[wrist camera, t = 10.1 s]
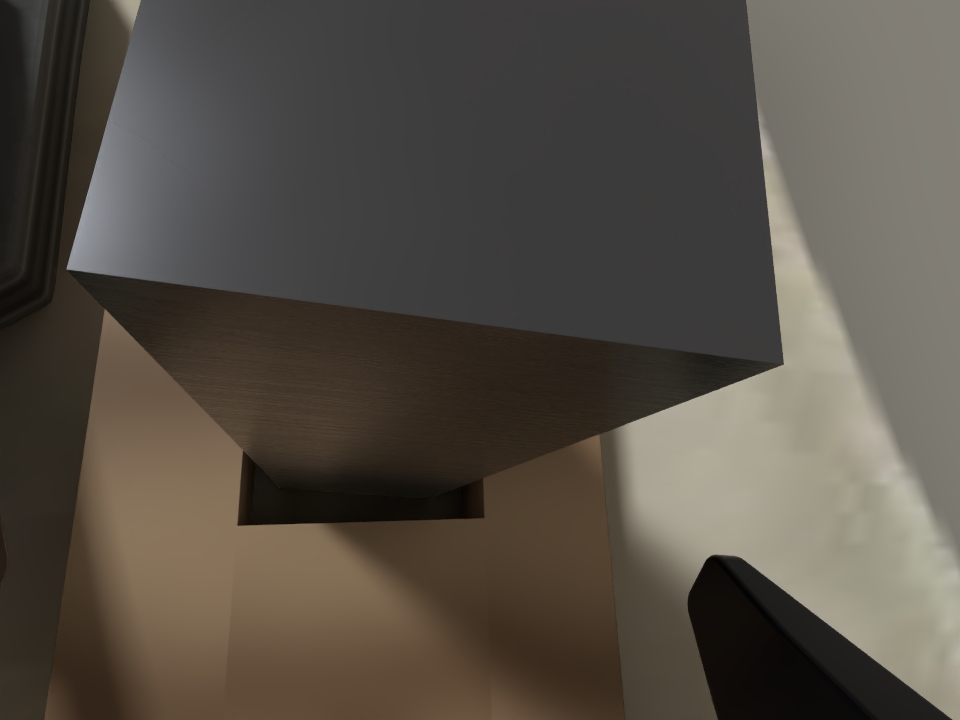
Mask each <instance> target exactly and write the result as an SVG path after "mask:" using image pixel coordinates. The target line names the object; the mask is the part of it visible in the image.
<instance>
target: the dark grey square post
mask: <svg viewBox="0 0 960 720" xmlns="http://www.w3.org/2000/svg"><path fill="white" fill-rule="evenodd" d="M66 270H67V271H68V272H69V273H70V274H71V275H72V276H73V277H74V278H75V279H76V280H77V281H78V282H79V283H80V284H81V285H82V286H83V287H84V288H85V289H86V290H87V291H88V292H89V293H90V294H91V295H92V296H93V297H94V298H95V299H96V300H97V301H98V302H99V303H100V304H101V305H102V306H103V307H104V308H105V309H106V310H107V312H108V313H109V314H110V315H111V316H112V317H113V318H114V319H115V320H116V321H117V322H118V323H119V324H120V325H121V326H122V327H123V328H124V329H125V330H126V331H127V332H128V333H129V334H130V335H131V336H132V337H133V338H134V339H135V340H136V341H137V342H138V343H139V344H140V345H141V346H142V347H143V348H144V349H145V350H146V351H147V352H148V353H149V354H150V356H151V357H152V358H153V359H154V360H155V361H156V362H157V363H158V364H159V365H160V366H161V367H162V368H163V369H164V370H165V371H166V372H167V373H168V374H169V375H170V376H171V377H172V378H173V379H174V380H175V381H176V382H177V383H178V384H179V385H180V386H181V387H182V388H183V389H184V390H185V391H186V392H187V393H188V394H189V395H190V396H191V397H192V398H193V400H194V401H195V402H196V403H197V404H198V405H199V406H200V407H201V408H202V409H203V410H204V411H205V412H206V413H207V414H208V415H209V416H210V417H211V418H212V419H213V420H214V421H215V422H216V423H217V424H218V425H219V426H220V427H221V428H222V429H223V430H224V431H225V432H226V433H227V434H228V435H229V436H230V437H231V438H232V439H233V440H234V441H235V442H236V444H237V445H238V446H239V447H240V448H241V449H242V450H243V451H244V452H245V453H246V454H247V455H248V456H249V457H250V458H251V459H252V460H253V461H254V462H255V463H256V464H257V465H258V466H259V467H260V468H261V469H262V470H263V471H264V472H265V473H266V474H267V475H268V476H269V477H270V478H271V479H272V480H273V481H274V482H275V483H276V484H277V485H278V487H279V488H280V489H295V490H309V491H324V492H339V493H354V494H368V495H383V496H398V497H413V498H428V499H430V498H432V497H435V496H437V495H440V494H443V493H445V492H448V491H451V490H453V489H456V488H459V487H461V486H464V485H467V484H469V483H472V482H474V481H477V480H480V479H482V478H485V477H488V476H490V475H493V474H496V473H498V472H501V471H504V470H506V469H509V468H511V467H514V466H517V465H519V464H522V463H525V462H527V461H530V460H533V459H535V458H538V457H541V456H543V455H546V454H548V453H551V452H554V451H556V450H559V449H562V448H564V447H567V446H570V445H572V444H575V443H578V442H580V441H583V440H585V439H588V438H591V437H593V436H596V435H599V434H601V433H604V432H607V431H609V430H612V429H615V428H617V427H620V426H622V425H625V424H628V423H630V422H633V421H636V420H638V419H641V418H644V417H646V416H649V415H652V414H654V413H657V412H659V411H662V410H665V409H667V408H670V407H673V406H675V405H678V404H681V403H683V402H686V401H689V400H691V399H694V398H696V397H699V396H702V395H704V394H707V393H710V392H712V391H715V390H718V389H720V388H723V387H725V386H728V385H731V384H733V383H736V382H739V381H741V380H744V379H747V378H749V377H752V376H755V375H757V374H760V373H762V372H765V371H768V370H770V369H773V368H776V367H778V366H781V365H784V362H783V352H782V342H781V333H780V323H779V314H778V304H777V294H776V285H775V275H774V266H773V256H772V246H771V237H770V227H769V217H768V208H767V198H766V189H765V179H764V169H763V160H762V150H761V141H760V131H759V121H758V112H757V102H756V92H755V83H754V73H753V64H752V54H751V44H750V35H749V26H748V16H747V6H746V0H141V2H140V6H139V10H138V13H137V17H136V20H135V24H134V28H133V31H132V35H131V38H130V42H129V46H128V49H127V53H126V56H125V60H124V64H123V67H122V71H121V74H120V78H119V82H118V85H117V89H116V92H115V96H114V100H113V103H112V107H111V110H110V114H109V118H108V121H107V125H106V128H105V132H104V136H103V139H102V143H101V146H100V150H99V154H98V157H97V161H96V164H95V168H94V172H93V175H92V179H91V182H90V186H89V190H88V193H87V197H86V200H85V204H84V208H83V211H82V215H81V218H80V222H79V226H78V229H77V233H76V236H75V240H74V244H73V247H72V251H71V254H70V258H69V262H68V265H67V269H66Z"/></svg>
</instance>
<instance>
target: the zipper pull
mask: <svg viewBox="0 0 960 720" xmlns="http://www.w3.org/2000/svg"><path fill="white" fill-rule="evenodd" d="M89 1H90V0H0V330H1V329H3V328H5V327H6V326H8V325H10V324H12V323H14V322H16V321H17V320H19V319H21V318H23V317H25V316H27V315H29V314H30V313H32V312H34V311H36V310H38V309H40V308H42V307H43V306H45V305H47V304H48V303H49V302H51V299H52V295H53V291H54V287H55V280H56V272H57V263H58V255H59V246H60V237H61V228H62V219H63V211H64V202H65V193H66V184H67V175H68V166H69V158H70V149H71V140H72V131H73V123H74V114H75V105H76V96H77V87H78V79H79V71H80V64H81V57H82V50H83V43H84V36H85V29H86V22H87V15H88V8H89Z"/></svg>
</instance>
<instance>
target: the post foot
mask: <svg viewBox="0 0 960 720" xmlns="http://www.w3.org/2000/svg"><path fill="white" fill-rule="evenodd" d="M254 473H255V462H254V461H253V460H252V459H251V458H250V457H249V456H248V455H247V454H246V453H245V452H244V451H243V450H242V449H241V448H240V447H239V446H238V445H237V444H236V442H235V441H234V440H233V439H232V438H231V437H230V436H229V435H228V434H227V433H226V432H225V431H224V430H223V429H222V428H221V427H220V426H219V425H218V424H217V423H216V422H215V421H214V420H213V419H212V418H211V417H210V416H209V415H208V414H207V413H206V412H205V411H204V410H203V409H202V408H201V407H200V406H199V405H198V404H197V403H196V402H195V401H194V400H193V398H192V397H191V396H190V395H189V394H188V393H187V392H186V391H185V390H184V389H183V388H182V387H181V386H180V385H179V384H178V383H177V382H176V381H175V380H174V379H173V378H172V377H171V376H170V375H169V374H168V373H167V372H166V371H165V370H164V369H163V368H162V367H161V366H160V365H159V364H158V363H157V362H156V361H155V360H154V359H153V358H152V357H151V356H150V354H149V353H148V352H147V351H146V350H145V349H144V348H143V347H142V346H141V345H140V344H139V343H138V342H137V341H136V340H135V339H134V338H133V337H132V336H131V335H130V334H129V333H128V332H127V331H126V330H125V329H124V328H123V327H122V326H121V325H120V324H119V323H118V322H117V321H116V320H115V319H114V318H113V317H112V316H111V315H110V314H109V313H108V312H107V310H106V309H105V310H104V317H103V324H102V331H101V337H100V344H99V351H98V358H97V364H96V371H95V378H94V385H93V392H92V398H91V405H90V412H89V419H88V426H87V432H86V439H85V446H84V453H83V460H82V466H81V473H80V480H79V487H78V493H77V500H76V507H75V514H74V521H73V527H72V534H71V541H70V548H69V555H68V561H67V568H66V575H65V582H64V588H63V595H62V602H61V609H60V616H59V622H58V629H57V636H56V643H55V650H54V656H53V663H52V670H51V677H50V683H49V690H48V697H47V704H46V711H45V717H44V720H625V712H624V700H623V689H622V678H621V667H620V656H619V645H618V634H617V623H616V612H615V601H614V590H613V579H612V568H611V556H610V545H609V534H608V523H607V512H606V501H605V490H604V479H603V468H602V457H601V446H600V435H596V436H593V437H591V438H588V439H585V440H583V441H580V442H578V443H575V444H572V445H570V446H567V447H564V448H562V449H559V450H556V451H554V452H551V453H548V454H546V455H543V456H541V457H538V458H535V459H533V460H530V461H527V462H525V463H522V464H519V465H517V466H514V467H511V468H509V469H506V470H504V471H501V472H498V473H496V474H493V475H490V476H488V477H485V478H482V479H480V480H477V481H474V482H472V483H469V484H467V485H464V486H462V505H463V519H445V520H412V521H379V522H346V523H314V524H281V525H251V517H252V503H253V488H254Z"/></svg>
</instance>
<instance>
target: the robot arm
mask: <svg viewBox="0 0 960 720" xmlns="http://www.w3.org/2000/svg"><path fill="white" fill-rule="evenodd" d="M7 567H8V553H7V548H6V543H5V538H4V532H3V527H2V522H1V517H0V586H1V584H2V582H3V580H4V577H5V574H6V571H7ZM688 612H689V616H690V620H691V623H692V627H693V631H694V635H695V638H696V642H697V646H698V649H699V653H700V657H701V660H702V664H703V668H704V671H705V675H706V679H707V683H708V686H709V690H710V694H711V697H712V701H713V704H714V708H715V711H716V714H717V718H718V720H952V719H951V718H949V717H948V716H947V715H946V714H944V713H943V712H942V711H940V710H939V709H938V708H936V707H935V706H934V705H932V704H931V703H930V702H929V701H927V700H926V699H925V698H923V697H922V696H921V695H919V694H918V693H917V692H916V691H914V690H913V689H912V688H910V687H909V686H908V685H906V684H905V683H904V682H902V681H901V680H900V679H899V678H897V677H896V676H895V675H893V674H892V673H891V672H889V671H888V670H887V669H885V668H884V667H883V666H882V665H880V664H879V663H878V662H876V661H875V660H874V659H872V658H871V657H870V656H868V655H867V654H866V653H865V652H863V651H862V650H861V649H859V648H858V647H857V646H855V645H854V644H853V643H852V642H850V641H849V640H848V639H846V638H845V637H844V636H842V635H841V634H840V633H838V632H837V631H836V630H835V629H833V628H832V627H831V626H829V625H828V624H827V623H825V622H824V621H823V620H821V619H820V618H819V617H818V616H816V615H815V614H814V613H812V612H811V611H810V610H808V609H807V608H806V607H805V606H803V605H802V604H801V603H799V602H798V601H797V600H795V599H794V598H793V597H791V596H790V595H789V594H788V593H786V592H785V591H784V590H782V589H781V588H780V587H778V586H777V585H776V584H775V583H773V582H772V581H771V580H769V579H768V578H767V577H765V576H764V575H763V574H761V573H760V572H759V571H758V570H756V569H755V568H754V567H752V566H751V565H750V564H748V563H747V562H746V561H744V560H743V559H742V558H739V557H736V556H728V555H712V556H710V557H709V558H708V559H707V560H706V561H705V563H704V565H703V567H702V569H701V571H700V573H699V575H698V577H697V579H696V580H695V582H694V584H693V586H692V588H691V590H690V592H689V596H688Z"/></svg>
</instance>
